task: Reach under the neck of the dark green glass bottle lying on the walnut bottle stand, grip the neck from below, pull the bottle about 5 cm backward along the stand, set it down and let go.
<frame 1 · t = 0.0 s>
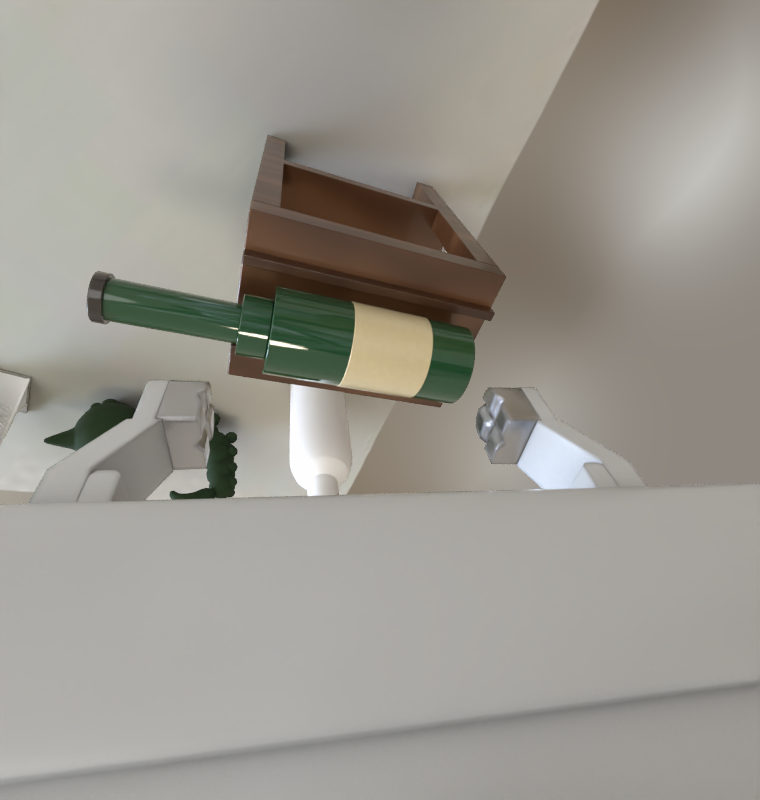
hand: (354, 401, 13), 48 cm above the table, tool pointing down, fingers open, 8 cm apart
bottle: (302, 314, 36), point 26 cm above the table, touching stand
toy figurine: (161, 411, 72), on the table
bottle 2: (315, 369, 71), on the table
skyscraper: (6, 384, 65), on the table
stand: (300, 210, 55), on the table
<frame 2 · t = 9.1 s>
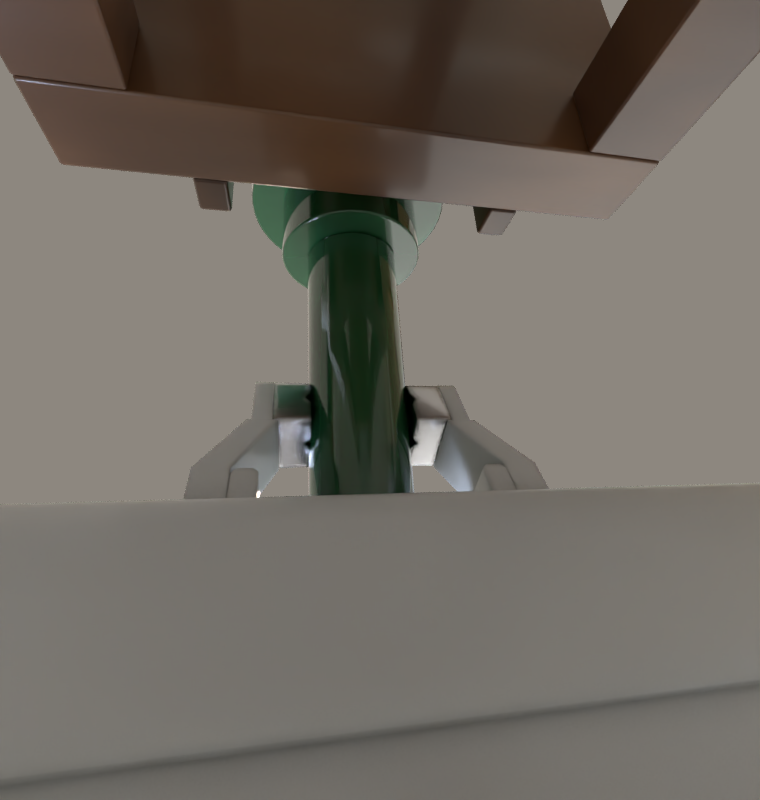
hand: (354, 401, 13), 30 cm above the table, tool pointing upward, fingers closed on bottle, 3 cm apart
bottle: (358, 64, 13), point 26 cm above the table, touching gripper, stand
when the fingers open (30 cm above the table, at t = 13.8 s): bottle stays where it is, resting on stand.
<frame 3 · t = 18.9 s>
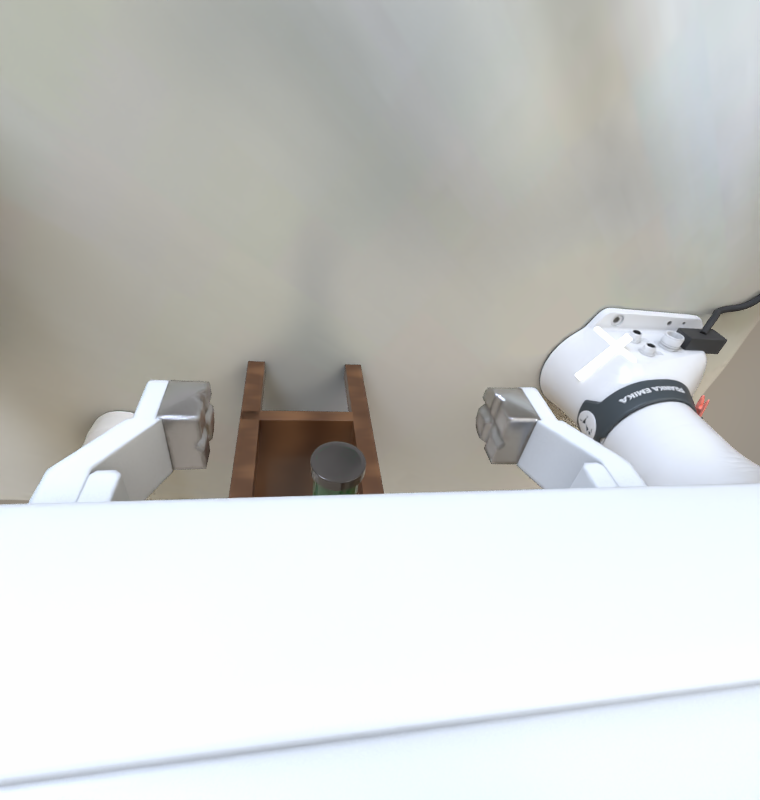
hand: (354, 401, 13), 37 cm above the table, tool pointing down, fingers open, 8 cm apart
bottle: (309, 546, 37), point 26 cm above the table, tilted 19°, touching stand
bottle 2: (127, 430, 60), on the table
stand: (304, 393, 60), on the table
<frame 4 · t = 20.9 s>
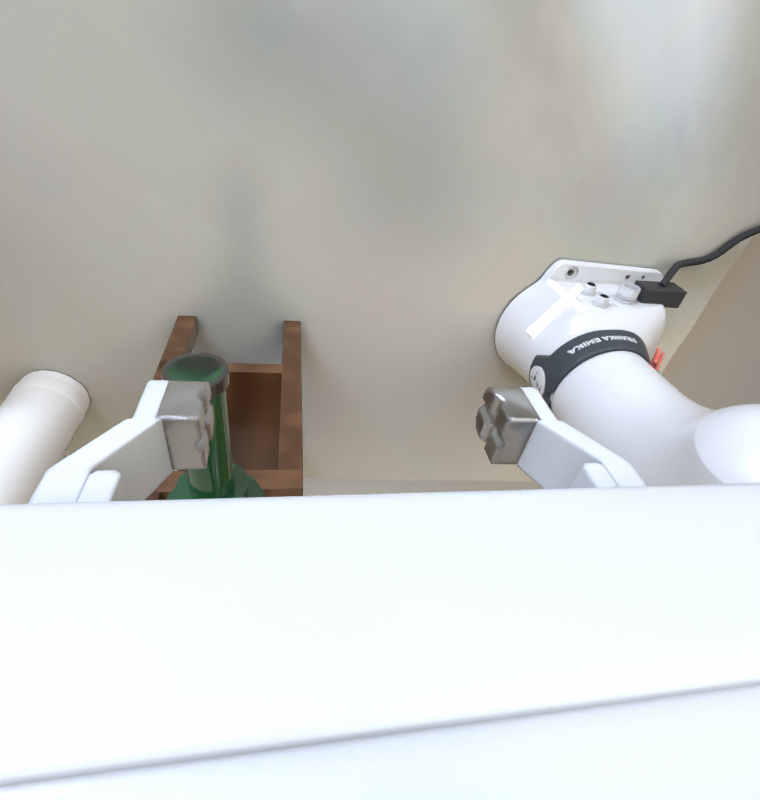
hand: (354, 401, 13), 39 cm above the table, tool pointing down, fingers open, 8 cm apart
bottle: (208, 491, 34), point 26 cm above the table, tilted 20°, touching stand
bottle 2: (56, 393, 57), on the table
stand: (243, 353, 57), on the table
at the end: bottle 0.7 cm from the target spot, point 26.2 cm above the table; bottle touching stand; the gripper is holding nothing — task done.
